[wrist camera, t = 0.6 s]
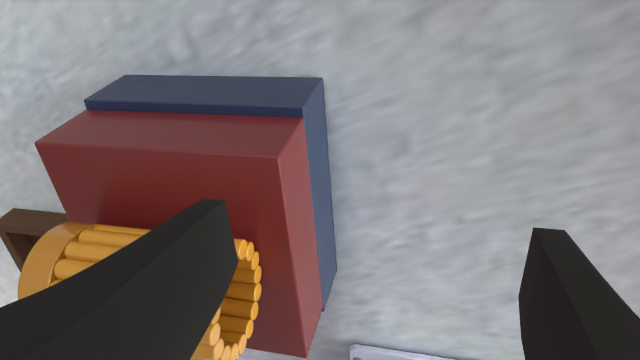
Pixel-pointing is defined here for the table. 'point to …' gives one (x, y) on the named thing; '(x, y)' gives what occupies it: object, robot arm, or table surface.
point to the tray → (26, 230)
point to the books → (213, 177)
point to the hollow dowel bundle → (103, 240)
